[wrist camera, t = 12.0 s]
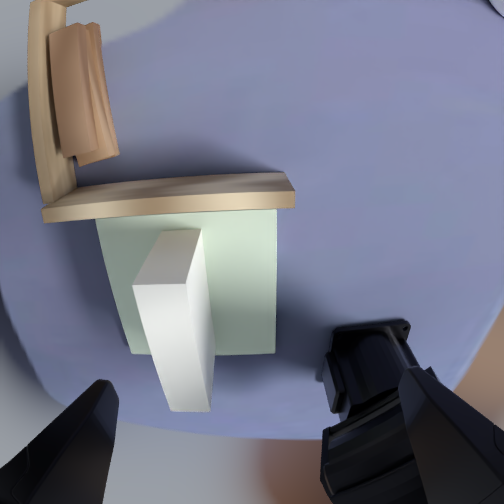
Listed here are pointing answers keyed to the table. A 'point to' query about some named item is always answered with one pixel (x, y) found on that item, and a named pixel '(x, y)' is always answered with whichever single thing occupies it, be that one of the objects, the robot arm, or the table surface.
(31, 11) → the rack
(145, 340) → the mat
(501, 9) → the drinking glass
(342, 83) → the table surface
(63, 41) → the offcut stack
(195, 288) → the white block
